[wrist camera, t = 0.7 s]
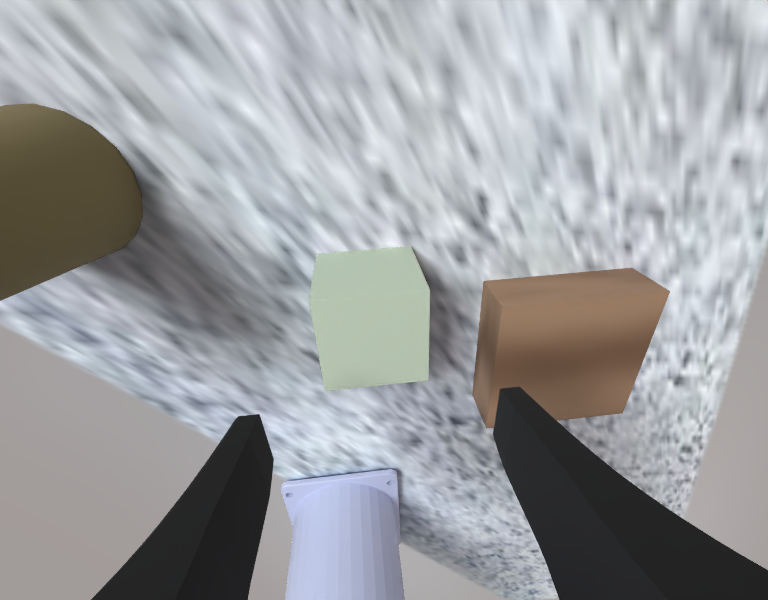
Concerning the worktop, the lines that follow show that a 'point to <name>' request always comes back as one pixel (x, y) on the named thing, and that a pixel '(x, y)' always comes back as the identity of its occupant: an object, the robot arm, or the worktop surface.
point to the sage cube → (370, 318)
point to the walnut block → (565, 340)
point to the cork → (59, 196)
